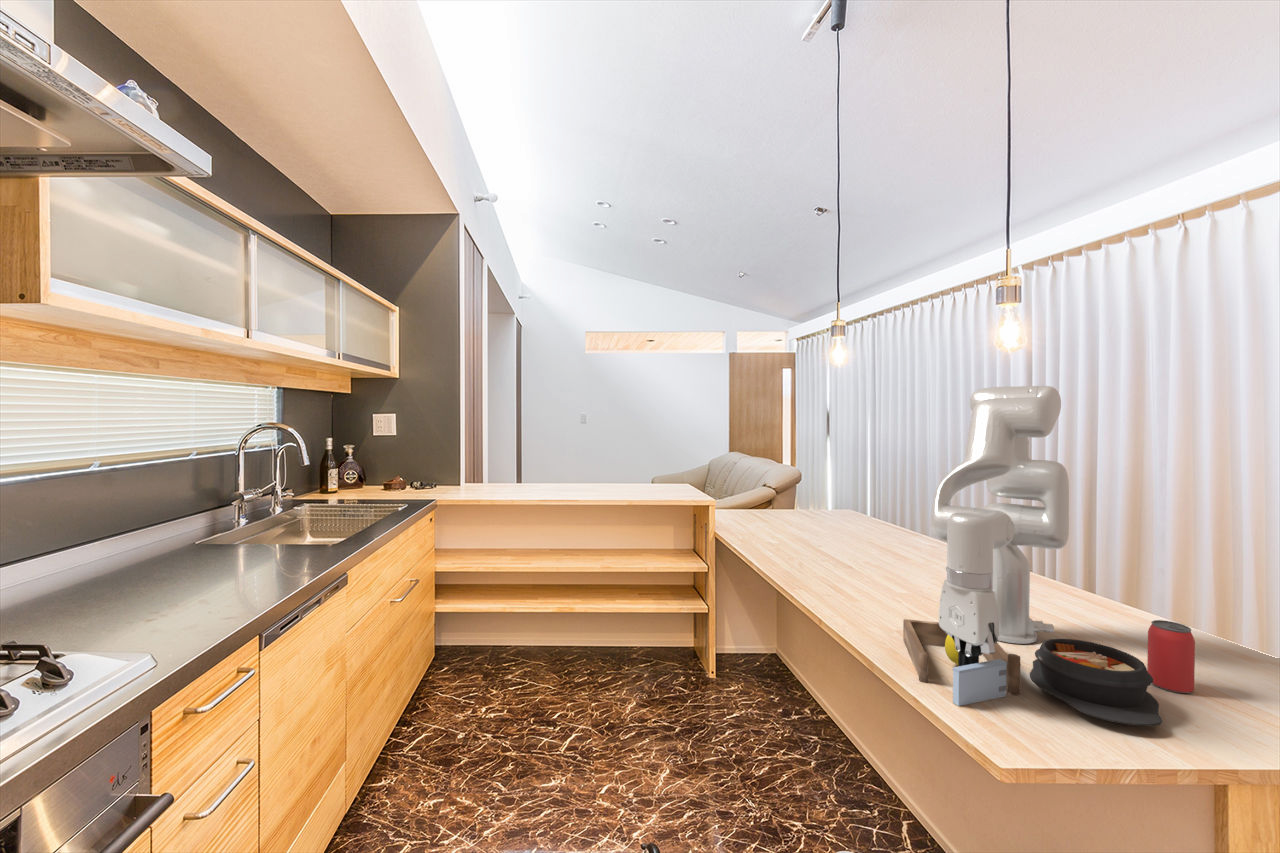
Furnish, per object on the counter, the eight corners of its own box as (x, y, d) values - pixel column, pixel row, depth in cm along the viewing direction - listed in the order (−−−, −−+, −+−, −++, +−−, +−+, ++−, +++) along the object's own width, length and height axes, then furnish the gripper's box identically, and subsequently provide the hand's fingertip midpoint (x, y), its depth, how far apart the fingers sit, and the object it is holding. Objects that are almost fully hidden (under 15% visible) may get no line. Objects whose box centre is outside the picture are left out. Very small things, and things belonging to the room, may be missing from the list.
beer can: (1183, 697, 102) (1184, 634, 102) (1139, 682, 108) (1140, 621, 108) (1201, 690, 104) (1202, 628, 104) (1157, 675, 110) (1158, 617, 110)
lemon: (969, 675, 110) (970, 636, 110) (940, 666, 115) (940, 628, 114) (979, 667, 114) (979, 629, 114) (950, 658, 118) (950, 622, 118)
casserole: (1008, 663, 116) (1009, 624, 116) (1113, 674, 111) (1114, 634, 111) (1062, 726, 92) (1063, 677, 92) (1199, 745, 87) (1200, 693, 87)
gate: (999, 692, 103) (999, 658, 103) (1006, 696, 102) (1006, 662, 102) (952, 702, 100) (952, 667, 100) (958, 706, 99) (959, 670, 98)
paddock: (986, 649, 123) (986, 618, 123) (1021, 695, 102) (1022, 658, 102) (902, 639, 128) (902, 610, 128) (919, 682, 108) (920, 647, 107)
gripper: (924, 569, 110) (923, 659, 110) (985, 591, 96) (984, 695, 96) (955, 567, 112) (954, 656, 112) (1020, 589, 97) (1019, 691, 97)
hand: (968, 674), depth 104 cm, fingers closed
